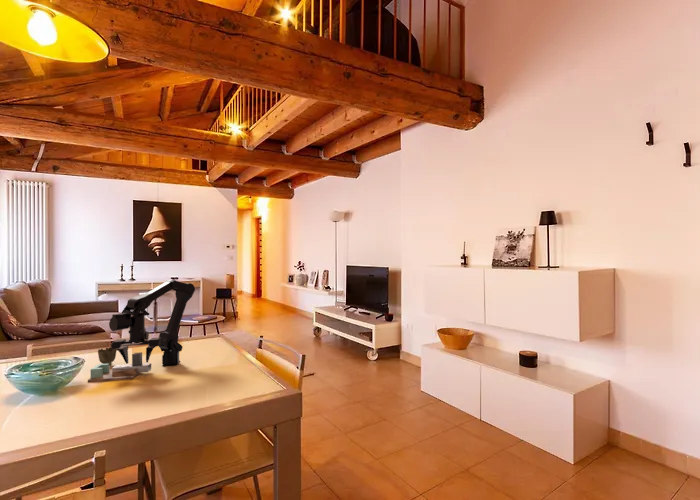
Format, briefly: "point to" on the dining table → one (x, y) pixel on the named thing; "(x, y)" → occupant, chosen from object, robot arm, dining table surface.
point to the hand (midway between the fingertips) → (137, 362)
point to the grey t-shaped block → (135, 364)
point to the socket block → (99, 370)
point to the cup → (107, 355)
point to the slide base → (116, 375)
